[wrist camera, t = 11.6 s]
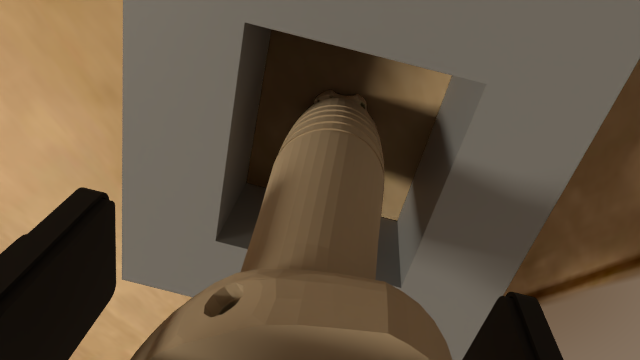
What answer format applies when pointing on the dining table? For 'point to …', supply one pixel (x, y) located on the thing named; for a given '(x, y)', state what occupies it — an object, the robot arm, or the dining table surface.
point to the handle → (309, 262)
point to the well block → (438, 157)
